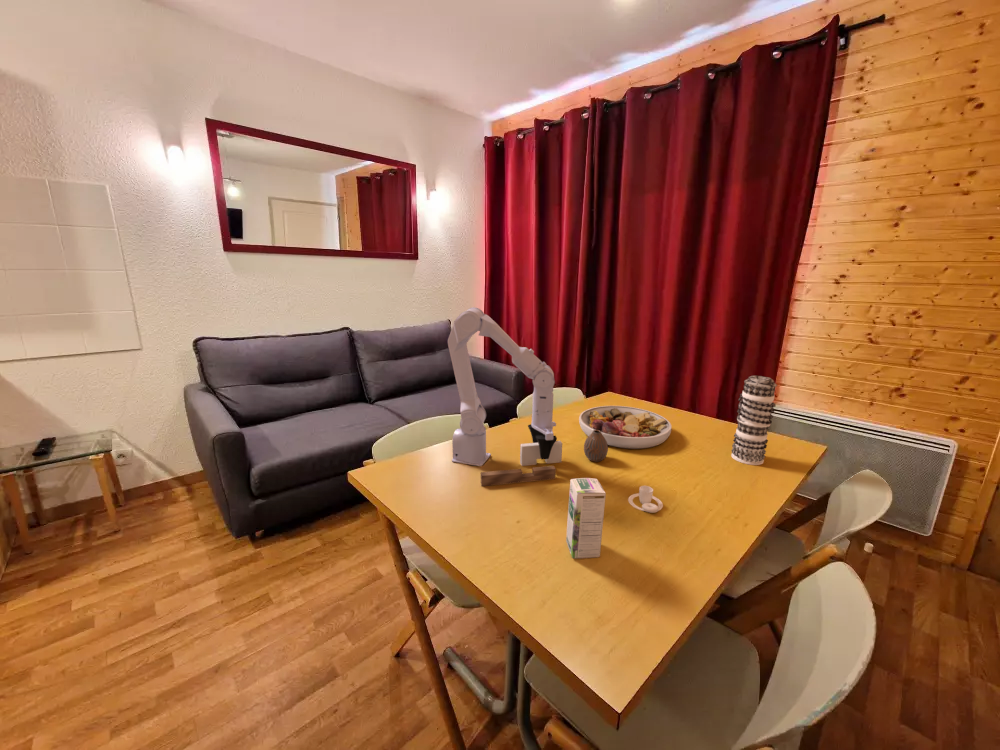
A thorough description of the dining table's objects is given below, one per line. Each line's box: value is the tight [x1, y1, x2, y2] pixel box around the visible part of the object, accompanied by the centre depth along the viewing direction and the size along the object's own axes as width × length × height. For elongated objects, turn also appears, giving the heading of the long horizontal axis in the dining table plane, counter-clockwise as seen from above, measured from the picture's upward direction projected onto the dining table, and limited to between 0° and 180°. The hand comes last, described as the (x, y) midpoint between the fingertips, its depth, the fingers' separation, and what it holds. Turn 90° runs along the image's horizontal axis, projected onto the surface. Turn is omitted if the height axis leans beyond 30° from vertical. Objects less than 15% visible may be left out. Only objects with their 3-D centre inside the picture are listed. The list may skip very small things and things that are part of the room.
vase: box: [583, 430, 609, 463], centre depth 121 cm, size 7×7×9 cm
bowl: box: [578, 405, 672, 450], centre depth 141 cm, size 30×30×8 cm
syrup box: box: [565, 477, 607, 559], centre depth 82 cm, size 6×6×14 cm
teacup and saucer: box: [627, 485, 664, 514], centre depth 99 cm, size 9×8×4 cm
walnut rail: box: [480, 465, 557, 487], centre depth 109 cm, size 20×2×3 cm, turn 101°
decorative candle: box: [730, 375, 778, 466], centre depth 120 cm, size 9×9×25 cm
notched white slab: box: [519, 440, 563, 467], centre depth 119 cm, size 12×2×6 cm, turn 101°
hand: (541, 453), depth 119 cm, fingers open, 6 cm apart
